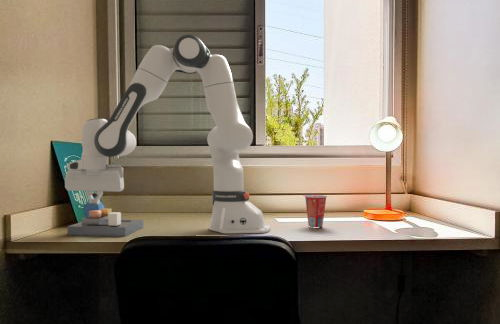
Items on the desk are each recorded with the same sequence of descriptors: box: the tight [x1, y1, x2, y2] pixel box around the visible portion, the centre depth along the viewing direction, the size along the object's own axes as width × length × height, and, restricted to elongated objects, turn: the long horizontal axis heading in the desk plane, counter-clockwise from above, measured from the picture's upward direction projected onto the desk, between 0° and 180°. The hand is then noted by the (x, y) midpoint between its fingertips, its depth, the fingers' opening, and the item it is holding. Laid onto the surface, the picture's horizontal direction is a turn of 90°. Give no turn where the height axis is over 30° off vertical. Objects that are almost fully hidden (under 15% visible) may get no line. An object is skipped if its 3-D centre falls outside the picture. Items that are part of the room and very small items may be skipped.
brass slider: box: [100, 207, 113, 216], centre depth 135 cm, size 3×3×4 cm
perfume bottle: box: [82, 192, 106, 218], centre depth 146 cm, size 6×6×12 cm
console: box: [67, 216, 144, 237], centre depth 130 cm, size 20×16×5 cm
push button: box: [89, 210, 101, 219], centre depth 129 cm, size 4×4×2 cm
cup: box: [301, 194, 328, 228], centre depth 140 cm, size 9×8×12 cm
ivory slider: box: [108, 211, 122, 226], centre depth 125 cm, size 3×3×4 cm
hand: (94, 203), depth 129 cm, fingers closed
